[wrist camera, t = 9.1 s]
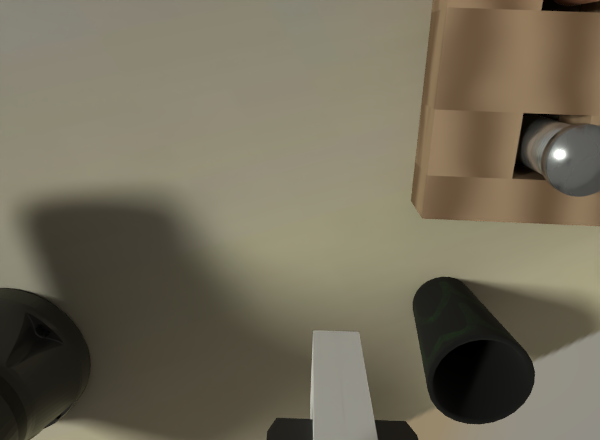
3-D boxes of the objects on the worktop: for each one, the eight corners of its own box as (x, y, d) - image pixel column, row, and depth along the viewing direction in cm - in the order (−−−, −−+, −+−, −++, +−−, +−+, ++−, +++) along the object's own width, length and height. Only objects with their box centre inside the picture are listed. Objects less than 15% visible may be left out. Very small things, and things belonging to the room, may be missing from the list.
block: (411, 200, 45) (422, 218, 40) (445, -112, 37) (464, -136, 32) (615, 209, 44) (651, 228, 40) (692, -104, 37) (748, -127, 32)
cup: (500, 302, 48) (557, 381, 36) (439, 352, 50) (476, 442, 38) (444, 250, 46) (486, 315, 35) (384, 304, 48) (405, 382, 37)
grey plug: (496, 166, 43) (541, 195, 34) (505, 108, 41) (554, 123, 33) (553, 168, 42) (612, 198, 34) (564, 111, 41) (630, 126, 32)
